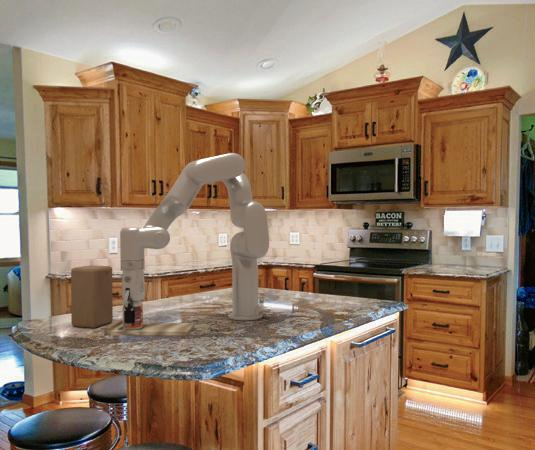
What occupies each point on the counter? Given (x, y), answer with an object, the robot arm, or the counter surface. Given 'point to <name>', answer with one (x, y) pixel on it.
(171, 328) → the board
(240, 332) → the counter surface
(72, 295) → the wooden block
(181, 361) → the counter surface
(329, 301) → the counter surface
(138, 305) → the pill bottle
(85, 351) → the counter surface
